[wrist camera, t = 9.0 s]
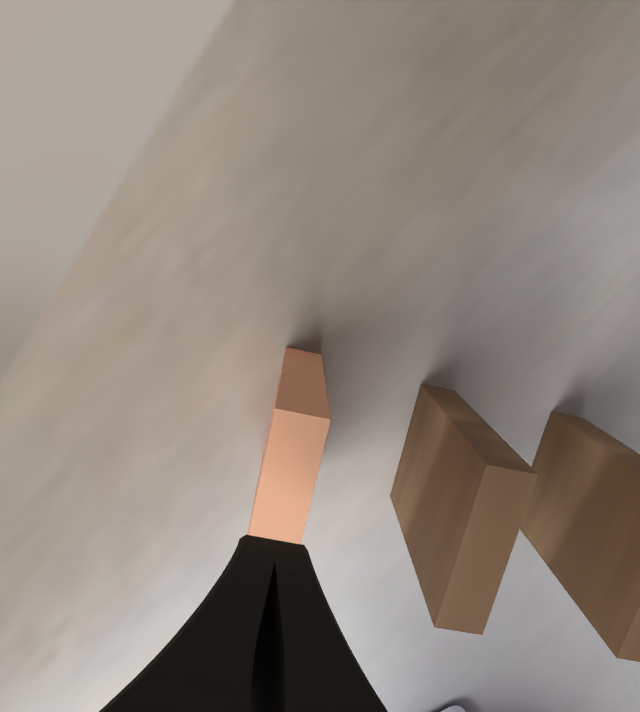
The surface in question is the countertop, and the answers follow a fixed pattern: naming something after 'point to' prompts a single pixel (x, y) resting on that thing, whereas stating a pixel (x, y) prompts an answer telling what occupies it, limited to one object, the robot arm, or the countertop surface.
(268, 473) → the lead tile
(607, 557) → the tile
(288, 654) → the robot arm
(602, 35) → the countertop surface
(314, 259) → the countertop surface
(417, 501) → the tile
